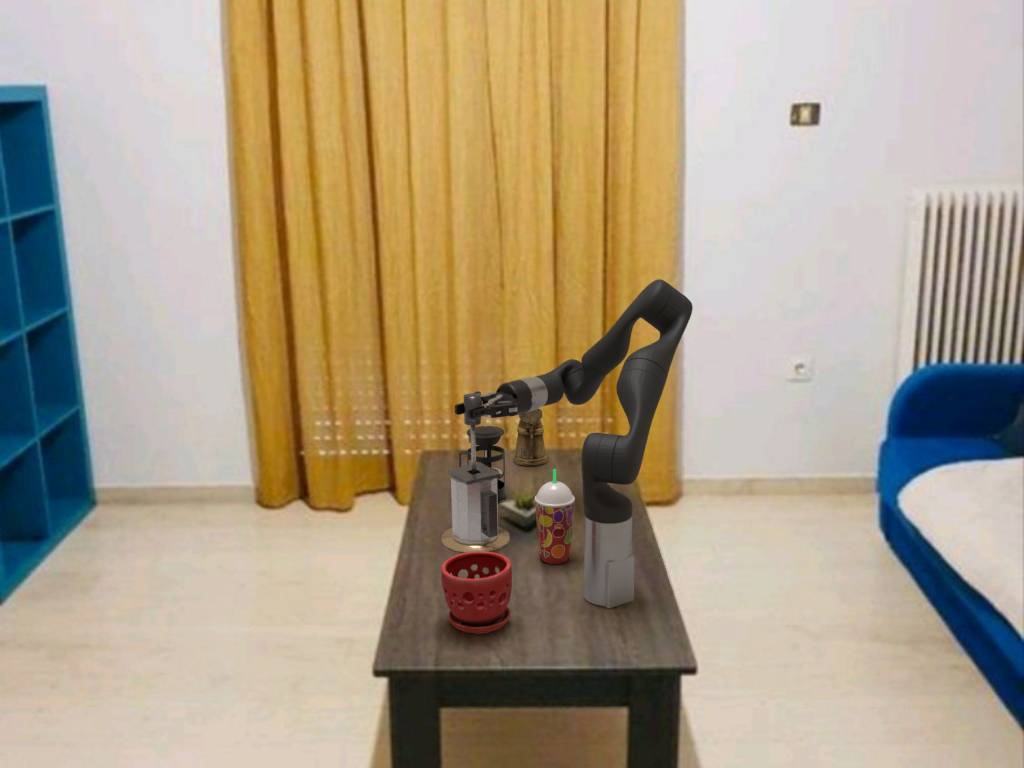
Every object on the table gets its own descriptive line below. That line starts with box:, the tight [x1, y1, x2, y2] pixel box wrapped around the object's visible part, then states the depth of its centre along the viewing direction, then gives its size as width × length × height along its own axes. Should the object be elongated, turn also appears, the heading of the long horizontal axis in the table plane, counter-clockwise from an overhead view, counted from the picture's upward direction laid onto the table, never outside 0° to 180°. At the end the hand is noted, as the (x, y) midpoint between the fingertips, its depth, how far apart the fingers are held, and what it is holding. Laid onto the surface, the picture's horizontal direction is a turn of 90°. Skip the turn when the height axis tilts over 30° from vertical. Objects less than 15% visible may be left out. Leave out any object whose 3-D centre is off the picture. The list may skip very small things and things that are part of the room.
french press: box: [458, 416, 507, 502], centre depth 264 cm, size 12×9×23 cm
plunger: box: [463, 393, 482, 474], centre depth 237 cm, size 8×8×22 cm
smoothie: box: [534, 468, 576, 565], centre depth 230 cm, size 8×8×20 cm
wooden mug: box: [513, 408, 548, 467], centre depth 287 cm, size 9×14×18 cm, turn 0°
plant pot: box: [440, 551, 513, 635], centre depth 205 cm, size 13×13×12 cm
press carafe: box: [441, 462, 511, 553], centre depth 241 cm, size 15×15×16 cm
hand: (462, 412), depth 233 cm, fingers closed on plunger, 3 cm apart
